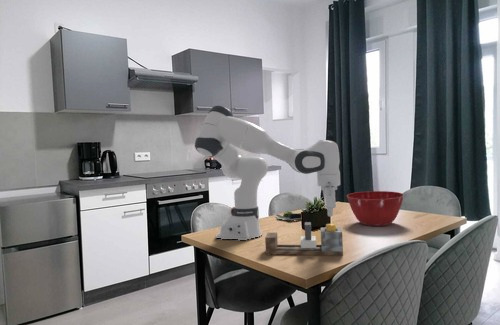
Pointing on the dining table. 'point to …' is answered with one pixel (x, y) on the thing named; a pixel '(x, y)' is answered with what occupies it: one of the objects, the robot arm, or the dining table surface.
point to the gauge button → (330, 227)
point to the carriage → (308, 237)
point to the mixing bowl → (375, 206)
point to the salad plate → (290, 216)
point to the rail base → (329, 246)
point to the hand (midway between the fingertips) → (330, 215)
